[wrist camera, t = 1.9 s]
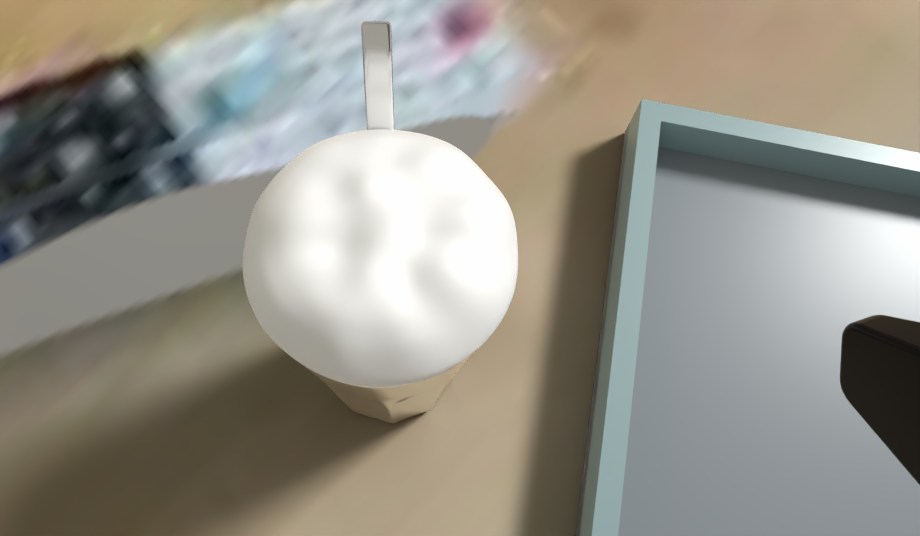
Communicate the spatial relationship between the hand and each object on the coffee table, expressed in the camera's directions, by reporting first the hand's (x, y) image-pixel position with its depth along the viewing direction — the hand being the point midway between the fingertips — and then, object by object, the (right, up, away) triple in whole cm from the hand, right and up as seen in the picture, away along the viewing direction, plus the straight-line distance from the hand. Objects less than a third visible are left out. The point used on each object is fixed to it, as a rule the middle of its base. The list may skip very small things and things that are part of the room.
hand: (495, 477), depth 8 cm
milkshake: (-2, 0, +12) cm, 12 cm away
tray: (+9, -2, +12) cm, 15 cm away
